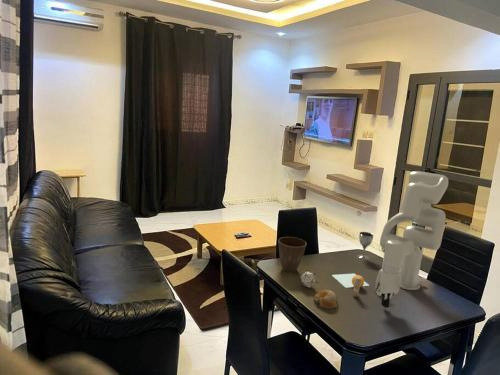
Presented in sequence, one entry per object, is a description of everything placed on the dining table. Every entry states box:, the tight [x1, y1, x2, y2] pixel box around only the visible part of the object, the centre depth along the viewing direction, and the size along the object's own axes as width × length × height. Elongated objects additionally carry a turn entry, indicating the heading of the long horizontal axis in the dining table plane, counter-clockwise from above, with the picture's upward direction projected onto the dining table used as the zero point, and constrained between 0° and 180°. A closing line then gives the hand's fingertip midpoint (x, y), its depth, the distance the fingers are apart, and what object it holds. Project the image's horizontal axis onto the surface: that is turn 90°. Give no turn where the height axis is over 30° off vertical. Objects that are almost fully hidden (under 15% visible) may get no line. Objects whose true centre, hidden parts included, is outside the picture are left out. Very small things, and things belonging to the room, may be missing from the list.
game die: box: [298, 269, 319, 290], centre depth 181 cm, size 9×8×10 cm
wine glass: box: [356, 231, 374, 261], centre depth 224 cm, size 8×8×15 cm
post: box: [352, 277, 361, 298], centre depth 175 cm, size 3×3×9 cm
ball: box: [352, 274, 365, 288], centre depth 185 cm, size 6×6×6 cm
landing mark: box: [331, 273, 370, 289], centre depth 192 cm, size 14×14×1 cm
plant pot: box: [278, 236, 307, 273], centre depth 198 cm, size 15×15×16 cm
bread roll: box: [313, 289, 338, 309], centre depth 167 cm, size 10×10×8 cm
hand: (384, 306), depth 166 cm, fingers closed
